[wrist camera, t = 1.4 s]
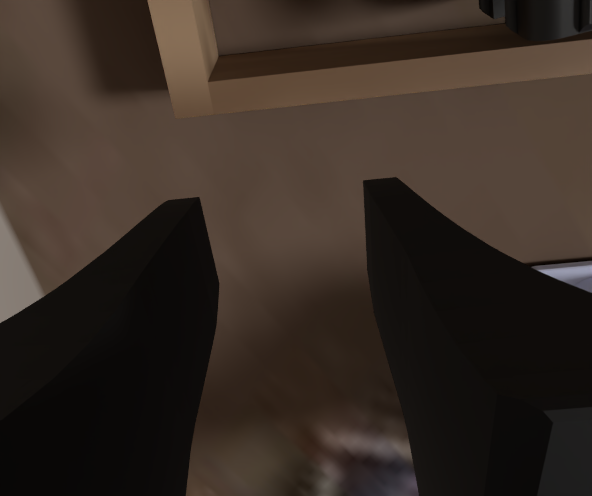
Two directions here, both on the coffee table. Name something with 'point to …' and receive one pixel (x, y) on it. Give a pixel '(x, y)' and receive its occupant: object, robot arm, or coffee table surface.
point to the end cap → (542, 17)
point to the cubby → (345, 64)
